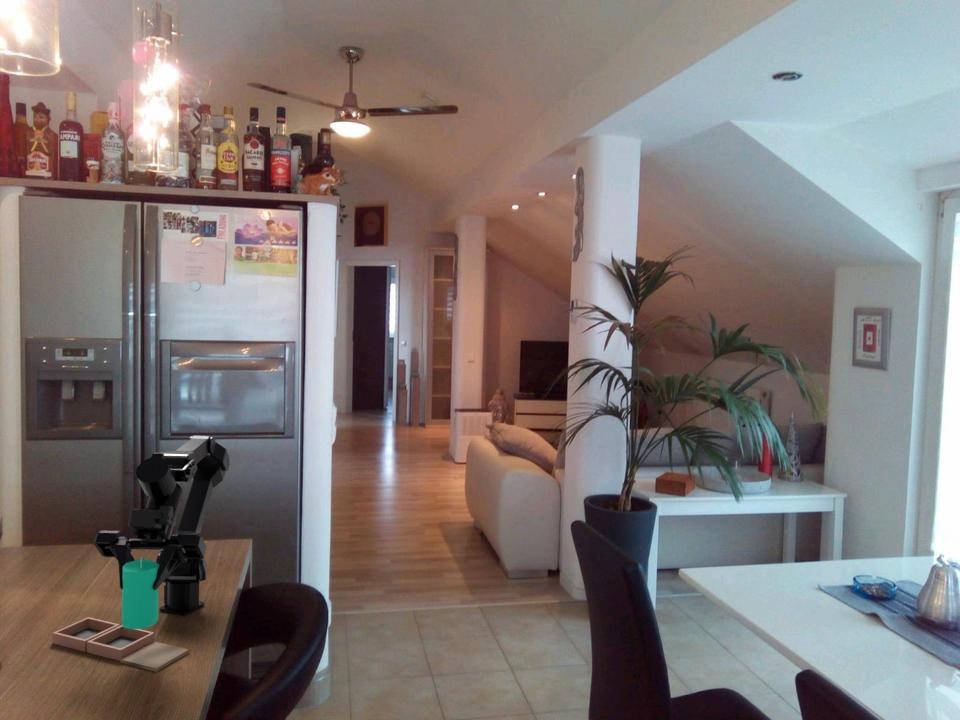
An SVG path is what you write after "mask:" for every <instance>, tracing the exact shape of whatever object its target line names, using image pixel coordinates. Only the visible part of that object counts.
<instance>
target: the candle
mask: <svg viewBox="0 0 960 720" xmlns="http://www.w3.org/2000/svg"><path fill="white" fill-rule="evenodd" d="M158 568H159V564H158V563H156V561H154V560H151V559H145V558H143V557H142V556H141V557H140V559H136V560H134V561H132V562H129V563H126V564H125V565H124V566H123V575H122V580H123V590H122V589H121V625H122V626H123V627H125V628H128V629H141V630H143V629H146V628H150V627H151V626H154V625H156V623H157V622H158V621H159V600H160V599H159V596H160V594H159V593H160V592H159V591H160V586H159V587H158V589H157V590H154V589H153V584H154V581H155V579H156V576H157V571H158Z"/></svg>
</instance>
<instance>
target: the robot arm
mask: <svg viewBox="0 0 960 720" xmlns="http://www.w3.org/2000/svg"><path fill="white" fill-rule="evenodd" d="M229 468H230V456H229V453H228V451H227V448H226V447H224V446H222V445H221V444H220V443H218V442H217V441H216V439H215V437H214V436H211V435H192V436H190V437H189V439H188V441H186V442H185V443H184V444H183V445H180V447H179V448H177V449H176V450H172V451H163V452H152V455H151V457H149V458H146V459H144V460H143V461H141V463H140V464H139V465H137V467H136V469H135V476H136V478H137V480H138V482H139V484H140V486H141V488H142V490H143V493H144V494H145V495H146V497H148V500H147V503H146V505H145V506H146V507H142V509H141V508H131V509H130V512H129V517H128V523H127V528H131V529H132V530H131V532H132V534H133V535H134V536H135V535H136V537H135V538H134V537H133V538H132V537H131V538H129V537H126V536H124V535H123V533H122V531H121V530H100V531H99V532H98V533H97V534H95V537H94V539H93V542H92V544H93V546H94V547H95V548H96V550H97V551H98V553H99V554H100V555H101V556H102V557H103V558H115V559H116V560H117V562H118V563H117V564H118V571H119V572H118V573H119V575H118V576H119V588H120V590H121V591H122V590H123V580H122V575H123V566H124V565H125V564H126V563H129V562H132V561H136V560H135V557H133V555H132V553H133V550H148V551H149V550H150V551H151V550H158V551H159V550H160V553H158V555H157V557H156V561H155V562H156V563H158V564H159V568H158V571H157V576H156V579H155V581H154V584H153V589H154V590H157V589H158V587H159V588H160V586H161V585H162V584H163V583H164V586H163V605H162V606H159V607H158V611H162V612H166V613H171V614H175V615H179V616H185V615H187V614H188V613H191V612H192V611H195V610H197V609H198V608H201V607H202V606H204V605H205V602H204V601H200V583H201V582H203V581H206V580H207V573H208V572H207V567H208V565H207V563H206V561H205V559H204V558H205V555H206V551H207V545H206V543H205V542H206V541H205V540H204V539H203V536H202V535H201V532H202V528H203V525H204V521H205V518H206V514H207V510H208V507H209V504H210V501H211V496H212V494H213V489H214V488H215V487H217V486H218V485H219V484H220V483H222V482H223V481H224V478H225V475H226V473H227V472H228V471H229ZM190 481H192V482H191V485H190V488H189V492H188V495H187V498H186V501H185V504H184V508H183V511H182V513H181V517H180V521H179V524H178V527H177V530H176V532H175V534H172V533H173V529H175V528H176V526H177V521H176V518H177V515H178V511H179V508H180V503H181V502H182V501H183V500H184V499H183V498H184V497H183V493H184V491H183V488H182V486H181V485H180V484H179V483H184V484H185V483H190Z"/></svg>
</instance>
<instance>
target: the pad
mask: <svg viewBox="0 0 960 720" xmlns="http://www.w3.org/2000/svg"><path fill="white" fill-rule="evenodd" d="M189 652H190V649H187V648H184V647H180V646H177V645H176V646H175V645H171V644H167V643H163V642H158V641H154V642H153V643H151V644H149V645H147V646H145V647H143V648H141V649H139V650H138V651H136V652H134V653H132V654H130V655H128V656H126V657H124V658H123V659H121V661H120V663H121V664H124V665H128V666H133V667H136V668H139V669H143V670H148V671H151V672H156V673H157V672H159V671H160V670H162V669H163V668H165V667H166V666H169V665H170V664H172V663H174V662H175V661H177V660H179V659H180V658H182V657H184V656H186V655H188V654H190V653H189Z"/></svg>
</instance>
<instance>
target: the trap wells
mask: <svg viewBox="0 0 960 720" xmlns="http://www.w3.org/2000/svg"><path fill="white" fill-rule="evenodd" d="M51 634H52V640H51V641H52V643H51V644H53V645H57V646H61V647H66V648H68V649H73V650H76V651H80V652H86V653H89V654H92V655H96V656H100V657H104V658H108V659H113V660H116V661H120V662H121V659H123V658H124V657H126V656H128V655H130V654H132V653H134V652H136V651H138V650H139V649H141V648H143V647H145V646H147V645H149V644H151V643H153V642H154V641H155V638H156V637H155V634H156V633H155V632H153V631H149V630H144V629H128V628H125V627H123V626H122V624H119V623H117V622H116V623H115V622H111V621H106V620H102V619H98V618H94V617H89V616H88V617H85V618H83V619H80V620H79V621H77V622H74V623H72V624H70V625H67V626H65V627H63V628H61V629H58V630H56V631H53V632H52V633H51ZM155 642H156V641H155Z"/></svg>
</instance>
